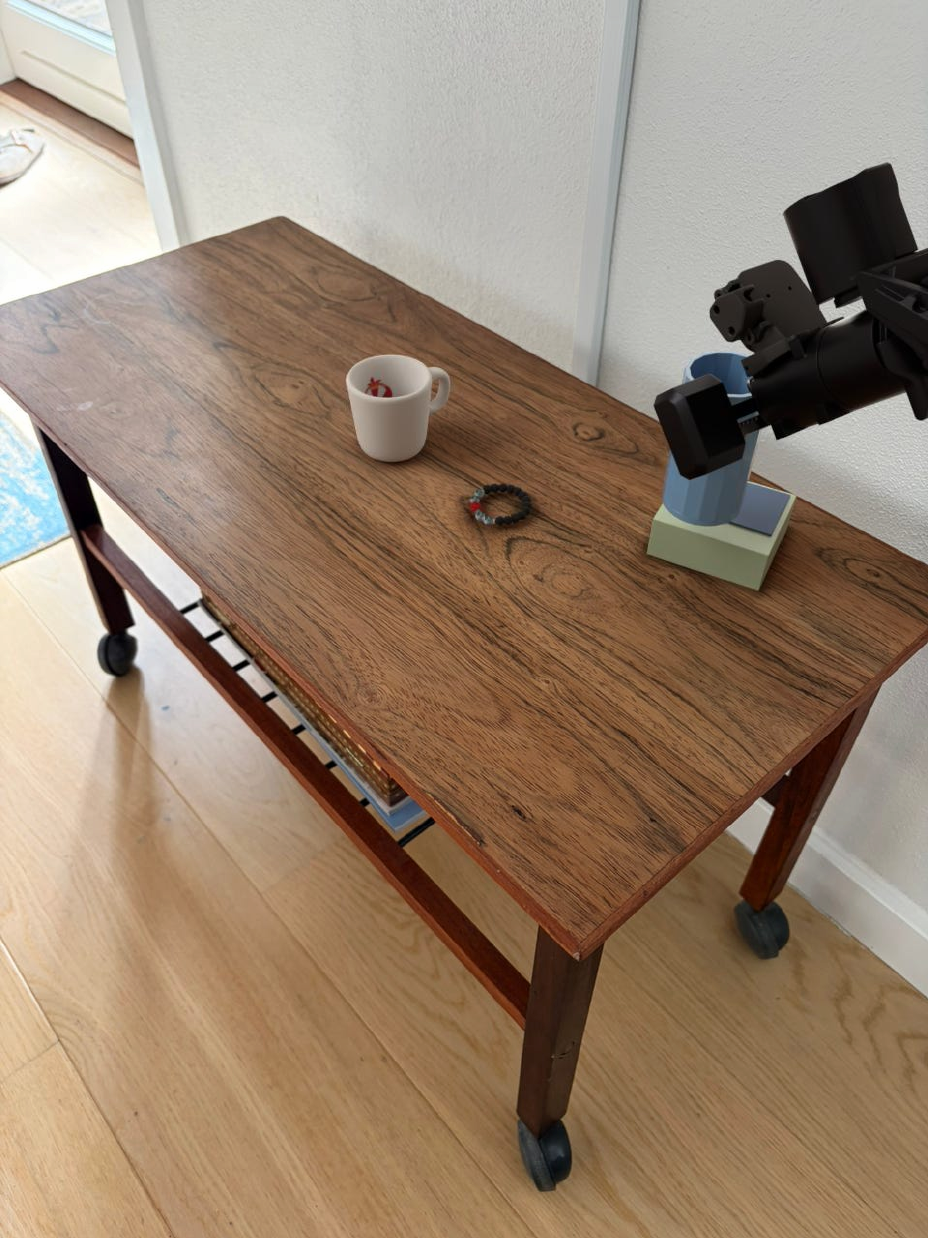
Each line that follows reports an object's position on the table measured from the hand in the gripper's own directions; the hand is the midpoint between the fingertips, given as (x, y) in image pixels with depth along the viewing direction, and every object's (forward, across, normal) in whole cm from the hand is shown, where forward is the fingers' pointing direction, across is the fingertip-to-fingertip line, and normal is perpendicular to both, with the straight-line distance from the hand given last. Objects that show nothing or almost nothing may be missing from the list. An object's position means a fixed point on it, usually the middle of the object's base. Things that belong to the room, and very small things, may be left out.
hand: (704, 425), depth 80 cm
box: (+9, -4, +10) cm, 14 cm away
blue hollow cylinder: (+4, 0, +6) cm, 7 cm away
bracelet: (+19, +10, 0) cm, 21 cm away
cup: (+29, +12, -10) cm, 33 cm away
